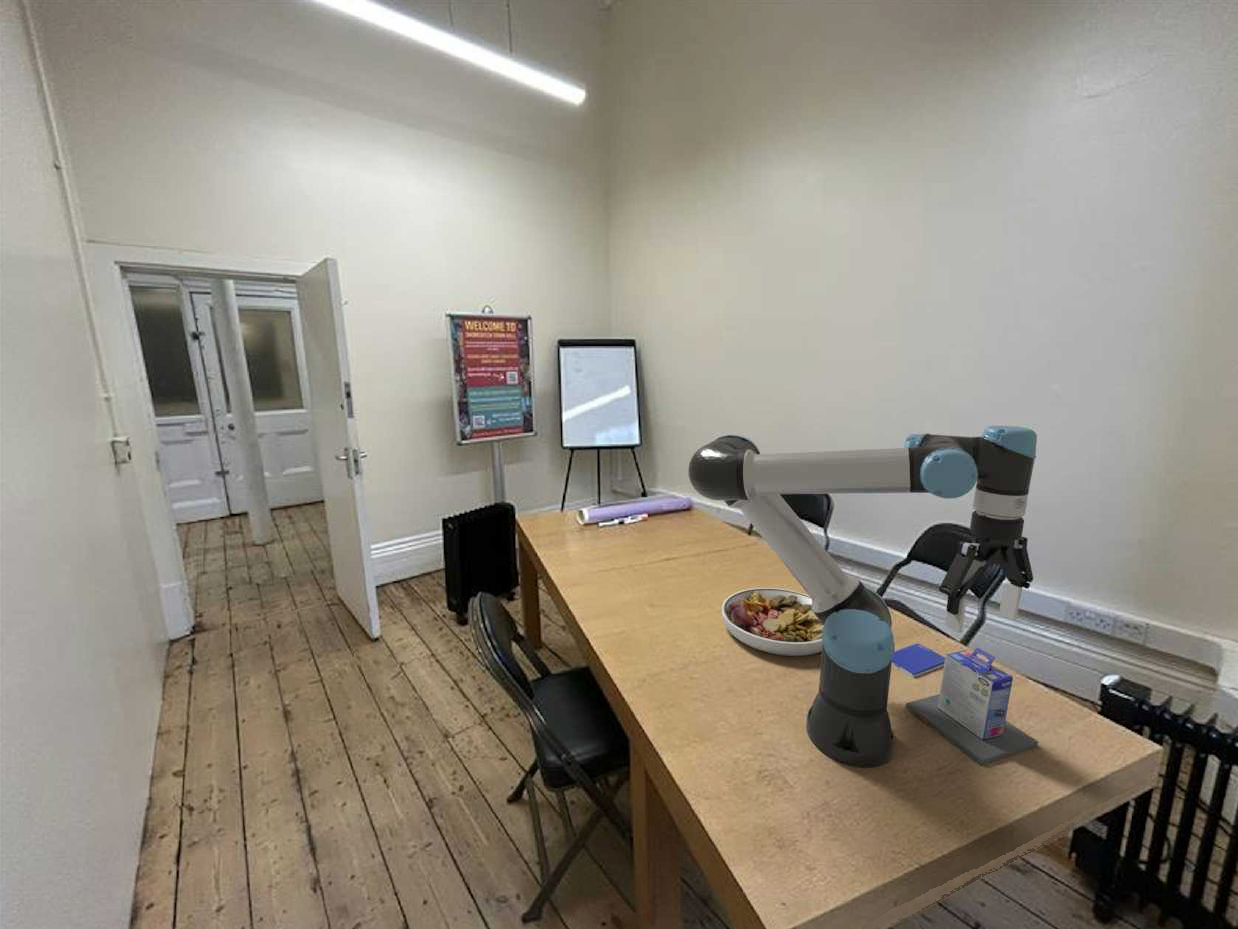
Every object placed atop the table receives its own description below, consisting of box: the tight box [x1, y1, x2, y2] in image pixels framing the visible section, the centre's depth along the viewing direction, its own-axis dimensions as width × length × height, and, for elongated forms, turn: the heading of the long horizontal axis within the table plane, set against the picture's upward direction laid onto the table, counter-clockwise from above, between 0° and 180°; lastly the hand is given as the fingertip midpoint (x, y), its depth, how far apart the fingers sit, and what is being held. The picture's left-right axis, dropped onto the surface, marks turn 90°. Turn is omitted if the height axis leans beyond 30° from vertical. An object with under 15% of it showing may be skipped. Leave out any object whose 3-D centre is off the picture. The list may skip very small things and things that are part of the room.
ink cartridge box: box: [938, 647, 1014, 739], centre depth 98 cm, size 10×6×14 cm, turn 18°
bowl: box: [721, 587, 824, 657], centre depth 135 cm, size 30×30×8 cm
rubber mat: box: [905, 693, 1039, 766], centre depth 99 cm, size 14×16×1 cm
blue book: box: [891, 643, 945, 678], centre depth 121 cm, size 2×8×12 cm
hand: (981, 623), depth 95 cm, fingers open, 13 cm apart
